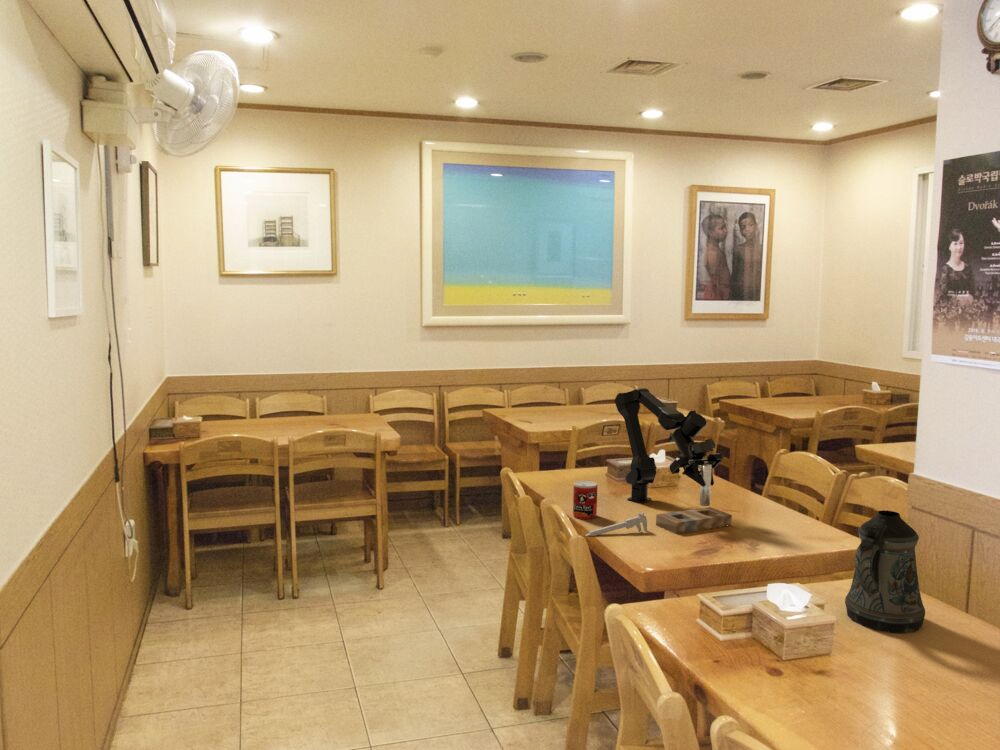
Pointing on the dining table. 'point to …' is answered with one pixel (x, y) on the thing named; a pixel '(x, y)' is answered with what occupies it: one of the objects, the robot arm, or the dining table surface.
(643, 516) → the caliper
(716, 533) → the dining table surface
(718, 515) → the tool block
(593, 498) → the canned food
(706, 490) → the drill rod
